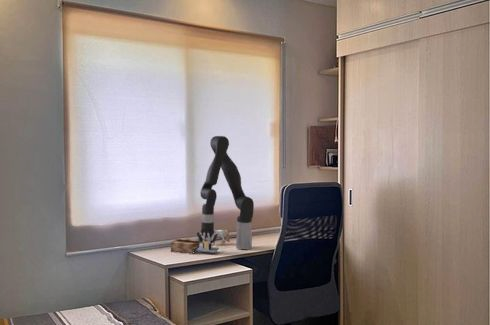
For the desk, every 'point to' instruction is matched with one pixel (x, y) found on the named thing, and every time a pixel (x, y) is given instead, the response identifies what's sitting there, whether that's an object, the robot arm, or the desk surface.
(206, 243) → the slate lid
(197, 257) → the desk surface
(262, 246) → the desk surface
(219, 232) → the unicorn figurine
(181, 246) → the walnut box
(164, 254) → the desk surface
